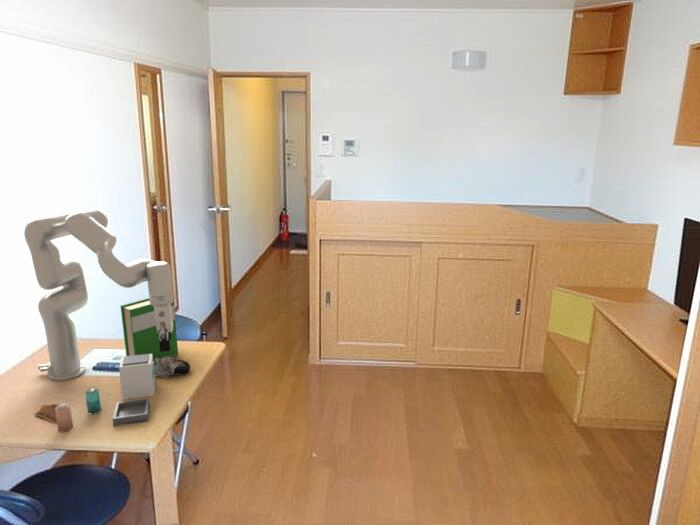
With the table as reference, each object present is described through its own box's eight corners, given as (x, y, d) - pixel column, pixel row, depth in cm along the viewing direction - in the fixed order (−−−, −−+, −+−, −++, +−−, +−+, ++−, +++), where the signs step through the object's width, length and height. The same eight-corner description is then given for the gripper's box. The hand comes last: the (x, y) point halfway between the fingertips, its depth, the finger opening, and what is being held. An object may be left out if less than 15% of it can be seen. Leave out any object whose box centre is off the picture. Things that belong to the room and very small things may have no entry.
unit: (121, 399, 177) (117, 365, 174) (124, 388, 185) (120, 355, 181) (155, 395, 180) (151, 362, 177) (156, 384, 188) (153, 352, 184)
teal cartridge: (86, 415, 168) (83, 393, 166) (88, 408, 172) (86, 387, 170) (100, 413, 169) (97, 392, 167) (102, 406, 173) (99, 386, 171)
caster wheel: (192, 375, 200) (178, 384, 190) (165, 366, 202) (150, 374, 192) (195, 359, 199) (181, 367, 189) (169, 350, 201) (154, 357, 191)
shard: (57, 424, 163) (56, 419, 163) (29, 428, 161) (28, 423, 161) (64, 407, 173) (64, 402, 173) (39, 410, 171) (38, 405, 171)
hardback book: (137, 369, 198) (130, 310, 192) (127, 363, 203) (120, 305, 196) (178, 353, 212) (173, 297, 205) (167, 348, 216) (162, 293, 210)
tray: (113, 426, 162) (112, 418, 162) (117, 409, 172) (116, 402, 171) (147, 421, 165) (147, 414, 164) (149, 404, 174) (149, 398, 174)
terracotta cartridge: (56, 432, 159) (53, 410, 157) (59, 425, 162) (56, 403, 160) (71, 430, 160) (68, 408, 158) (74, 423, 164) (70, 401, 162)
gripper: (172, 305, 169) (176, 354, 174) (173, 289, 185) (177, 334, 190) (147, 308, 167) (152, 357, 172) (151, 291, 183) (155, 336, 188)
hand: (165, 345), depth 181 cm, fingers open, 9 cm apart
